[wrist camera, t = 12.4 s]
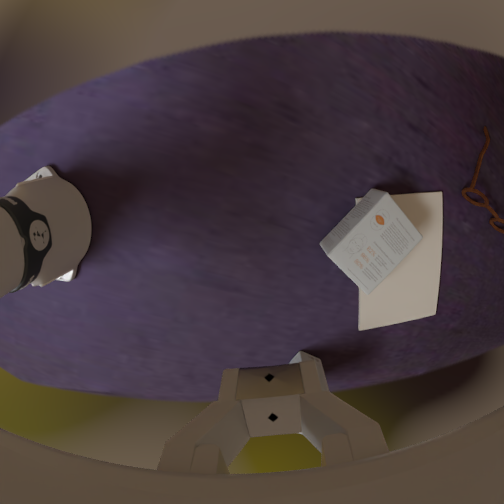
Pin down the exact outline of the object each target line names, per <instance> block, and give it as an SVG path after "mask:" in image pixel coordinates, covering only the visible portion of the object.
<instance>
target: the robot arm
mask: <svg viewBox="0 0 504 504" xmlns="http://www.w3.org/2000/svg"><path fill="white" fill-rule="evenodd" d="M41 175H42V178H41ZM90 240H91V218H90V213H89V210H88V207H87V204H86V202H85V200H84V198H83V196H82V195H81V193H80V192H79V191H78V190H77V189H76V188H75V187H74V186H73V185H72V184H71V183H69V182H67V181H65V180H63V179H62V178H60V177H59V176H58V175H57V174H56V172H55V171H54V170H53V168H52V167H50V166H45V167H42V168H41V169H40V170H38V171H37V172H35V173H34V174H33V175H31V176H30V177H29V178H27V179H26V180H25V181H24V182H20V183H18V184H16V187H15V188H13V189H12V190H11V191H10V192H9V193H8V194H7V195H6V196H5V197H0V298H1V297H3V296H4V295H6V294H7V293H13V292H16V291H18V290H21V289H23V288H25V287H26V286H28V285H29V284H30V283H31V284H32V286H37V285H39V286H45V285H46V284H48V283H50V282H52V281H54V280H61V281H71V280H73V279H74V278H75V275H76V271H77V266H78V264H79V262H80V261H81V260H82V258H83V257H84V255H85V254H86V252H87V250H88V247H89V244H90ZM301 432H302V434H303V435H304V436H305V437H306V438H307V439H308V440H309V441H310V442H311V443H312V444H313V445H314V446H315V447H316V448H317V449H318V450H319V451H320V452H321V453H322V461H321V462H322V463H321V467H317V468H310V469H302V470H294V471H284V472H272V473H256V474H230V473H229V470H228V468H227V467H228V466H229V465H230V464H231V462H232V461H233V460H234V459H235V457H236V456H237V455H238V453H239V452H240V451H241V450H242V448H243V447H244V446H245V444H246V443H247V441H248V440H249V439H250V437H259V436H269V435H277V434H278V435H279V434H291V433H301ZM0 504H504V406H503V407H501V408H499V409H497V410H495V411H493V412H491V413H490V414H487V415H486V416H483V417H481V418H479V419H477V420H475V421H473V422H471V423H468V424H466V425H464V426H462V427H459V428H457V429H455V430H452V431H450V432H447V433H445V434H442V435H440V436H437V437H434V438H432V439H429V440H426V441H423V442H420V443H418V444H414V445H411V446H408V447H405V448H402V449H398V450H395V451H391V452H389V450H388V447H387V445H386V442H385V439H384V436H383V434H382V431H381V428H380V426H379V424H378V423H377V422H375V421H374V420H372V419H370V418H369V417H367V416H366V415H364V414H362V413H361V412H359V411H358V410H356V409H355V408H353V407H351V406H350V405H348V404H347V403H345V402H344V401H342V400H341V399H339V398H337V397H336V396H335V395H333V394H332V393H330V392H329V391H323V390H322V386H321V382H320V378H319V374H318V370H317V366H316V362H315V360H308V361H302V362H299V363H291V364H283V365H275V366H262V367H248V368H240V369H239V368H234V369H225V370H224V371H223V375H222V380H221V386H220V391H219V397H218V401H214V402H212V403H211V404H210V405H209V406H208V407H207V408H205V409H204V410H203V411H202V412H201V413H200V414H198V415H197V416H196V417H195V418H194V419H193V420H191V422H189V423H188V424H187V425H185V426H184V427H183V428H182V429H181V430H180V431H178V432H177V433H176V434H175V435H173V436H172V437H171V438H170V439H168V440H167V441H166V442H165V445H164V448H163V452H162V455H161V458H160V461H159V464H158V467H157V470H152V469H144V468H138V467H131V466H124V465H120V464H114V463H109V462H104V461H99V460H95V459H91V458H87V457H83V456H79V455H75V454H72V453H68V452H65V451H61V450H58V449H55V448H52V447H48V446H45V445H42V444H39V443H36V442H34V441H31V440H28V439H26V438H23V437H20V436H18V435H15V434H13V433H11V432H8V431H6V430H3V429H1V428H0Z"/></svg>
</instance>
